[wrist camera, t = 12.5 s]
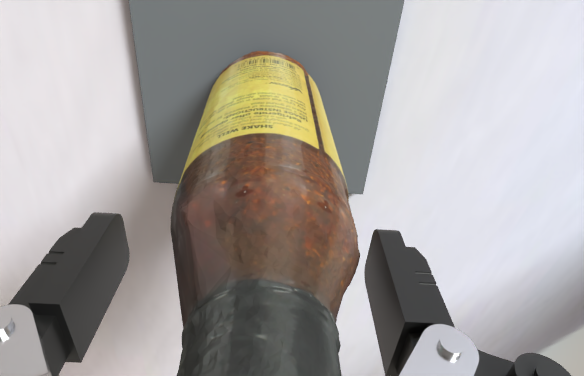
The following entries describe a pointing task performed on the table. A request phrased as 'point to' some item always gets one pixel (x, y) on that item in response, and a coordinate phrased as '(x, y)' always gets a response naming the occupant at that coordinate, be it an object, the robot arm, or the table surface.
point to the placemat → (273, 38)
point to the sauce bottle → (262, 228)
